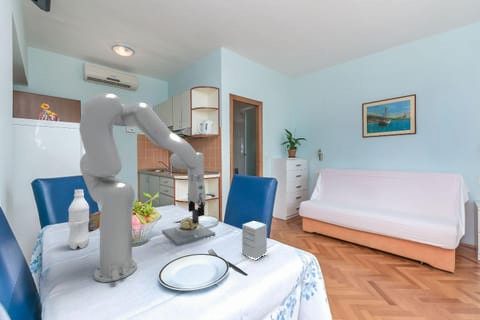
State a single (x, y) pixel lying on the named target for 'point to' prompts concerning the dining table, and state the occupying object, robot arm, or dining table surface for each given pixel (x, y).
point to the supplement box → (254, 239)
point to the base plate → (186, 238)
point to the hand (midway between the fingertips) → (196, 213)
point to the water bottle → (78, 221)
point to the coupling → (191, 221)
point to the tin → (94, 221)
